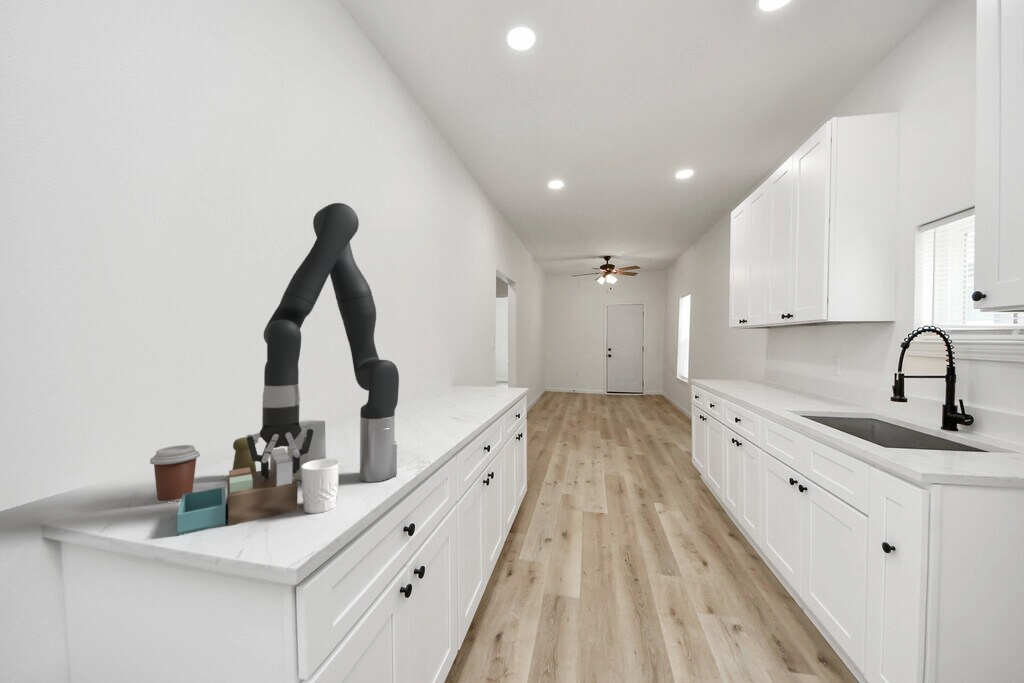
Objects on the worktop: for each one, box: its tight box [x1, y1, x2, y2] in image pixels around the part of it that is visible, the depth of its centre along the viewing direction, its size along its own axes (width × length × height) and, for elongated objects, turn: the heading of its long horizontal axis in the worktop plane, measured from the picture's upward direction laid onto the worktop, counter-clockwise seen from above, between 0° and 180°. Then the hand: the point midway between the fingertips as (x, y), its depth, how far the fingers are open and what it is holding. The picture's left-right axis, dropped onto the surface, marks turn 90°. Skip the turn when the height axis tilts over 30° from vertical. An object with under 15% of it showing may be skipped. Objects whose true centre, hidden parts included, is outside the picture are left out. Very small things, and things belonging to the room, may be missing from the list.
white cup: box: [301, 458, 340, 514], centre depth 88 cm, size 8×8×10 cm
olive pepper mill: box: [232, 436, 257, 472], centre depth 107 cm, size 6×6×11 cm
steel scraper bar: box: [269, 447, 292, 487], centre depth 90 cm, size 3×14×5 cm, turn 38°
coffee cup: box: [149, 444, 201, 504], centre depth 92 cm, size 9×9×12 cm
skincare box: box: [286, 418, 327, 481], centre depth 108 cm, size 8×7×16 cm
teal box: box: [176, 486, 227, 536], centre depth 82 cm, size 8×13×4 cm, turn 38°
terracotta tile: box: [228, 467, 251, 478], centre depth 88 cm, size 4×4×2 cm
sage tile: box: [229, 474, 253, 493], centre depth 83 cm, size 4×4×2 cm
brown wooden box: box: [226, 468, 299, 527], centre depth 88 cm, size 12×15×6 cm
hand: (280, 474), depth 90 cm, fingers open, 5 cm apart
